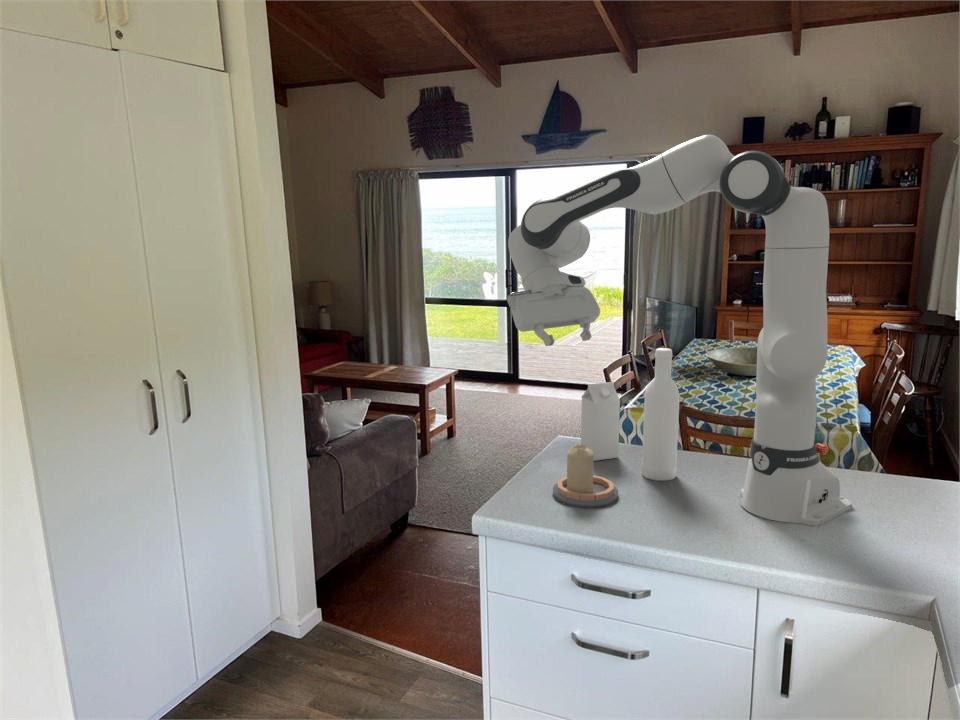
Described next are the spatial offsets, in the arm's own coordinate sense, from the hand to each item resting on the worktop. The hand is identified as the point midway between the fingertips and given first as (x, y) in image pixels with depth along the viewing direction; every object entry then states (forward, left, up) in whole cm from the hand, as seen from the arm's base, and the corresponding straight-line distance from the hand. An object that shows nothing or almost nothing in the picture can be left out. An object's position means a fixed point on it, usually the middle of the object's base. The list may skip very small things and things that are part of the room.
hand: (569, 341), depth 141 cm
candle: (0, +4, -32) cm, 33 cm away
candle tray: (-2, +4, -33) cm, 34 cm away
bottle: (-24, +2, -34) cm, 41 cm away
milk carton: (-20, -16, -34) cm, 42 cm away
